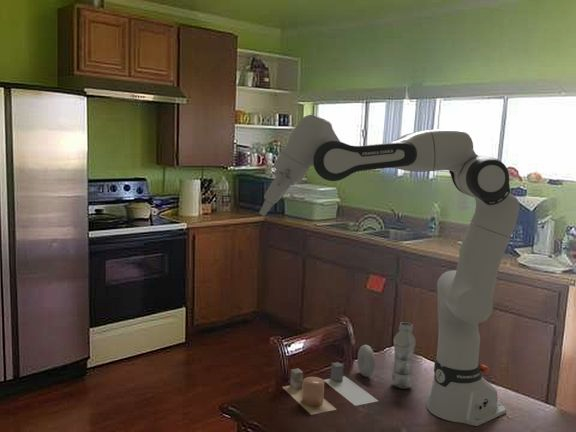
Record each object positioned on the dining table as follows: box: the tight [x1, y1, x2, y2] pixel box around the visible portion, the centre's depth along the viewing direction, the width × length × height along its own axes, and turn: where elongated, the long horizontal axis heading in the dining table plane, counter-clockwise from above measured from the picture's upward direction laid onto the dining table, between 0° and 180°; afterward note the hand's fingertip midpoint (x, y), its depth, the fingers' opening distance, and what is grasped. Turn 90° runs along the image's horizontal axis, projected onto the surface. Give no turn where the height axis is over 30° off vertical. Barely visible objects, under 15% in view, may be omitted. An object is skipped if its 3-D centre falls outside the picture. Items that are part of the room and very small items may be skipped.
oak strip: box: [281, 368, 337, 416], centre depth 156 cm, size 8×18×6 cm, turn 26°
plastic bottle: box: [390, 321, 416, 390], centre depth 168 cm, size 6×7×20 cm
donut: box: [357, 344, 376, 378], centre depth 175 cm, size 10×4×10 cm, turn 10°
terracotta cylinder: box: [302, 376, 325, 407], centre depth 153 cm, size 6×6×6 cm
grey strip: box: [323, 361, 379, 407], centre depth 162 cm, size 8×18×6 cm, turn 26°
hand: (263, 212), depth 150 cm, fingers open, 8 cm apart
